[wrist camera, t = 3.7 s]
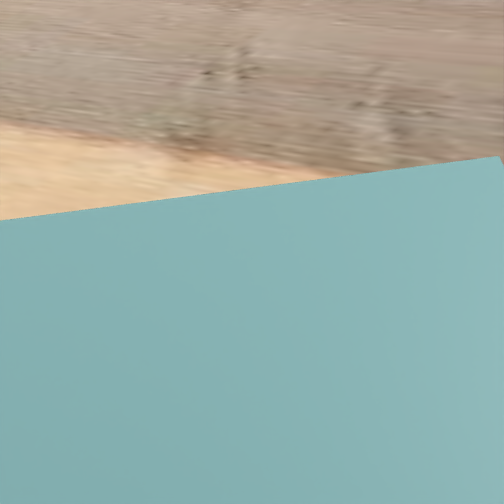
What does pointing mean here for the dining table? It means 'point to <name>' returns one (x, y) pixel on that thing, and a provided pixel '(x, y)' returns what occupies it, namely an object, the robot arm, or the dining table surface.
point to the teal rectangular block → (260, 345)
